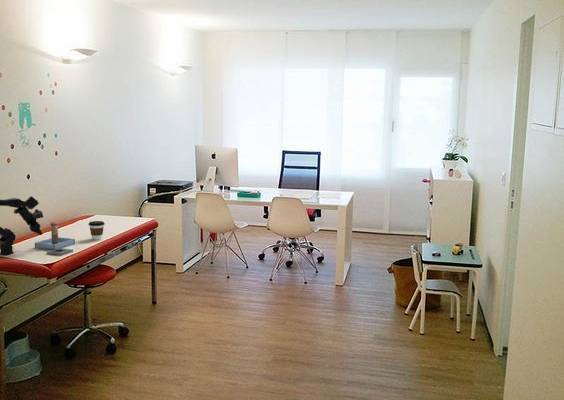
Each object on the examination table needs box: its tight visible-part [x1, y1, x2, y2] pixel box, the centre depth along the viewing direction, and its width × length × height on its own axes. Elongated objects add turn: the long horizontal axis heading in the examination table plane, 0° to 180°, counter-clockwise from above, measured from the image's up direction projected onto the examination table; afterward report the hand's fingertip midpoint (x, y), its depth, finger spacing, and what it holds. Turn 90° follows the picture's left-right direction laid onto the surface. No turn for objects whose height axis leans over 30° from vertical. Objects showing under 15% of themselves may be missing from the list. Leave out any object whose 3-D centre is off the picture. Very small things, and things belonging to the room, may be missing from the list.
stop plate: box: [46, 247, 74, 257], centre depth 347 cm, size 11×11×2 cm
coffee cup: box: [88, 220, 106, 241], centre depth 388 cm, size 11×11×12 cm
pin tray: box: [34, 236, 76, 251], centre depth 365 cm, size 20×16×4 cm
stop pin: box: [50, 221, 59, 245], centre depth 364 cm, size 5×5×15 cm
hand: (40, 232), depth 357 cm, fingers open, 9 cm apart
